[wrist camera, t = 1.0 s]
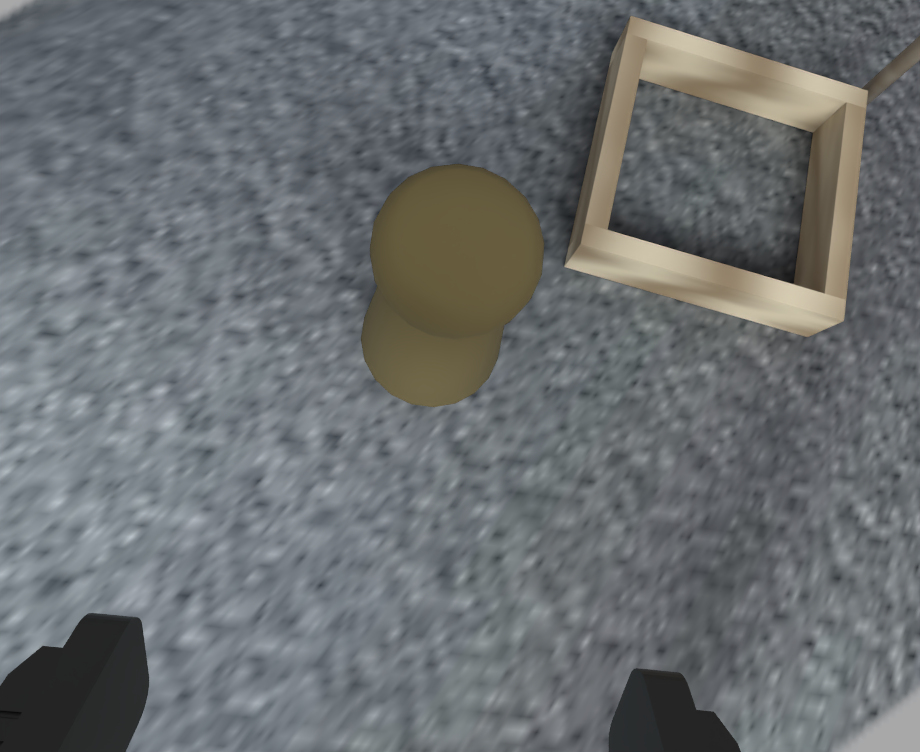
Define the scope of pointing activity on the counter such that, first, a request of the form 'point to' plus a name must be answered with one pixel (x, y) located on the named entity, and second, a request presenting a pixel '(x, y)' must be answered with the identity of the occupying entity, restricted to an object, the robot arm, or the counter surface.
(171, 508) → the counter surface
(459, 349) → the cork
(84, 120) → the counter surface
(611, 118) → the wooden square frame
